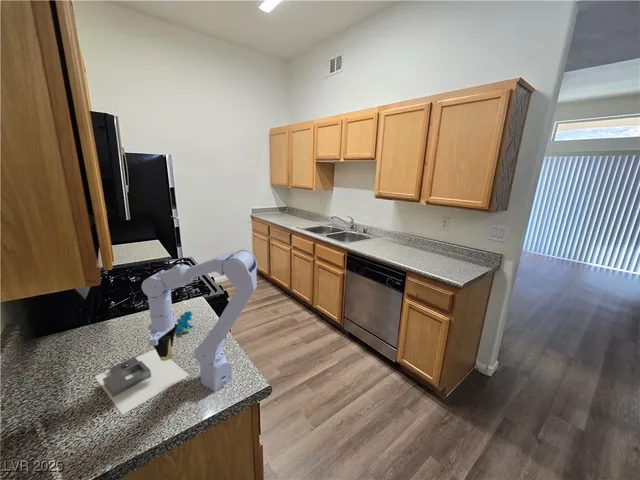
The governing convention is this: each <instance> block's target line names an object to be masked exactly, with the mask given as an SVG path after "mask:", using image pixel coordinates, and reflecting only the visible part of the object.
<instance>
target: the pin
mask: <svg viewBox="0 0 640 480" xmlns="http://www.w3.org/2000/svg"><path fill="white" fill-rule="evenodd" d="M165 336H170V335H165ZM172 350H173V349H172V348H171V341H170V340H169V345H168V355H167V356H166V357H160V360H161V361H167V360H169V359H171V360H172V358H173V353H172V352H173V351H172Z"/></svg>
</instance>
